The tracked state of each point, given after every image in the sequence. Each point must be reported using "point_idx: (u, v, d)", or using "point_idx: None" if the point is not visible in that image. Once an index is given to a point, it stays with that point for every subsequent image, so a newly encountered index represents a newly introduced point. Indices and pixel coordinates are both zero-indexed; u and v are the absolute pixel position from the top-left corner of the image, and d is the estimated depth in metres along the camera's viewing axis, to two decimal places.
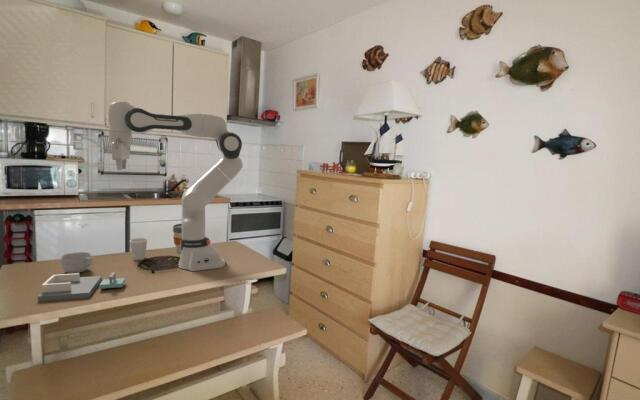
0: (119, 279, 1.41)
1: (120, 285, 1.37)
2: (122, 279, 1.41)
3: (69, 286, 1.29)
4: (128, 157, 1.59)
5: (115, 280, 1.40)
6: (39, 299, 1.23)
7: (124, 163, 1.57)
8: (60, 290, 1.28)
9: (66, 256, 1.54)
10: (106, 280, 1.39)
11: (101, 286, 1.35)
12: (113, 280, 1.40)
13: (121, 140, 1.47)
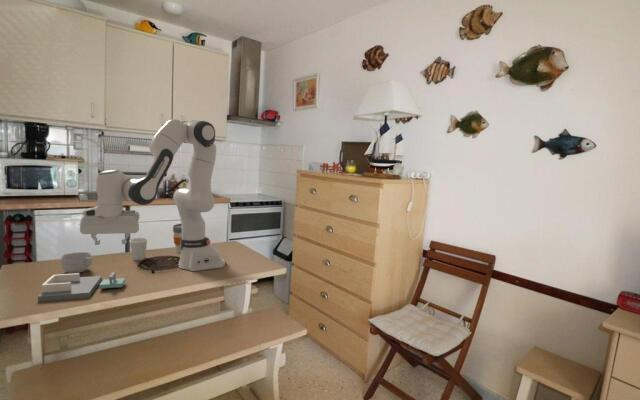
0: (119, 279, 1.41)
1: (120, 285, 1.37)
2: (122, 279, 1.41)
3: (69, 286, 1.29)
4: None
5: (115, 280, 1.40)
6: (39, 299, 1.23)
7: (96, 238, 1.35)
8: (60, 290, 1.28)
9: (66, 256, 1.54)
10: (106, 280, 1.39)
11: (101, 286, 1.35)
12: (113, 280, 1.40)
13: None
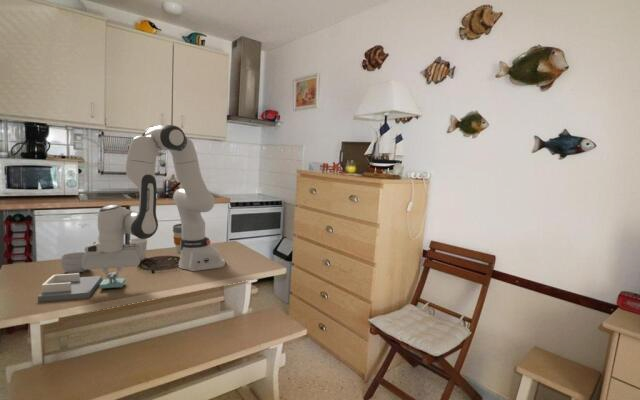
0: (119, 279, 1.41)
1: (120, 285, 1.37)
2: (122, 279, 1.41)
3: (69, 286, 1.29)
4: None
5: (115, 280, 1.40)
6: (39, 299, 1.23)
7: (107, 271, 1.38)
8: (60, 290, 1.28)
9: (66, 256, 1.54)
10: (106, 280, 1.39)
11: (101, 286, 1.35)
12: (113, 280, 1.40)
13: None
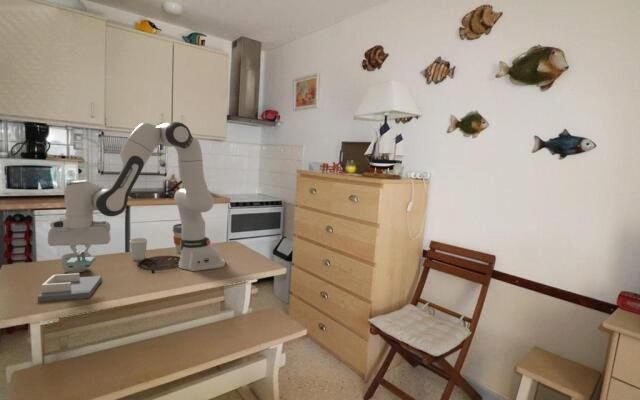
0: (88, 257, 1.36)
1: (88, 263, 1.32)
2: (91, 257, 1.36)
3: (69, 286, 1.29)
4: None
5: (84, 258, 1.35)
6: (39, 299, 1.23)
7: (75, 249, 1.33)
8: (60, 290, 1.28)
9: (66, 256, 1.54)
10: (74, 258, 1.34)
11: (68, 264, 1.30)
12: (82, 258, 1.35)
13: None
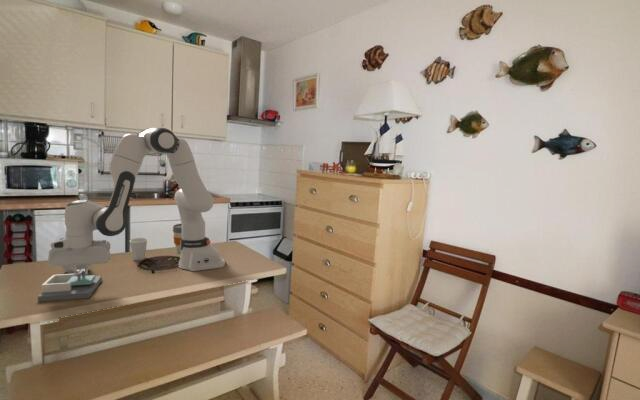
0: (89, 276, 1.37)
1: (89, 282, 1.33)
2: (92, 276, 1.37)
3: (69, 286, 1.29)
4: None
5: (84, 277, 1.36)
6: (39, 299, 1.23)
7: (76, 268, 1.34)
8: (60, 290, 1.28)
9: None
10: (75, 277, 1.35)
11: None
12: (82, 277, 1.36)
13: None
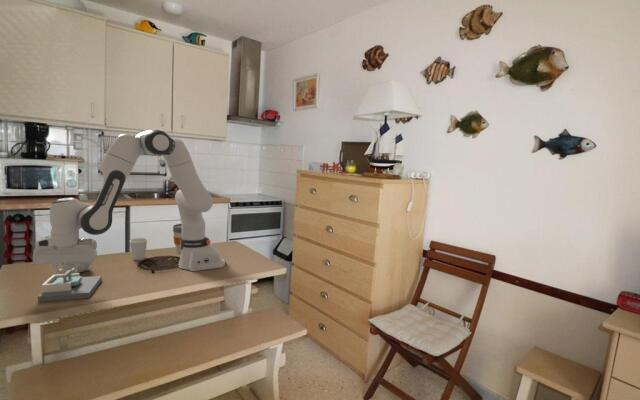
0: (75, 277, 1.35)
1: (75, 283, 1.32)
2: (78, 277, 1.36)
3: (69, 286, 1.29)
4: None
5: (70, 278, 1.34)
6: (39, 299, 1.23)
7: (58, 267, 1.32)
8: (60, 290, 1.28)
9: None
10: (61, 278, 1.34)
11: None
12: (68, 278, 1.34)
13: None
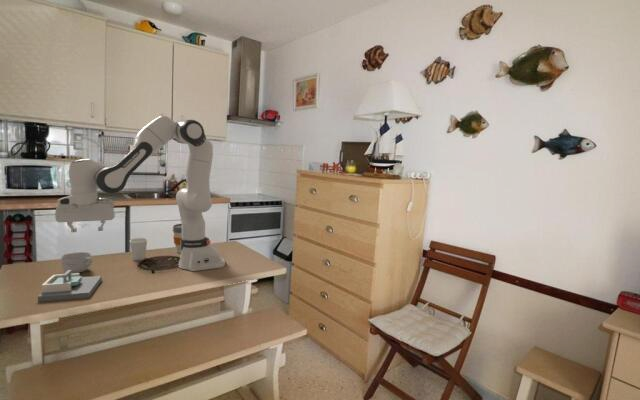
0: (75, 277, 1.35)
1: (75, 283, 1.32)
2: (78, 277, 1.36)
3: (69, 286, 1.29)
4: None
5: (70, 278, 1.34)
6: (39, 299, 1.23)
7: (72, 226, 1.38)
8: (60, 290, 1.28)
9: (66, 256, 1.54)
10: (61, 278, 1.34)
11: None
12: (68, 278, 1.34)
13: None
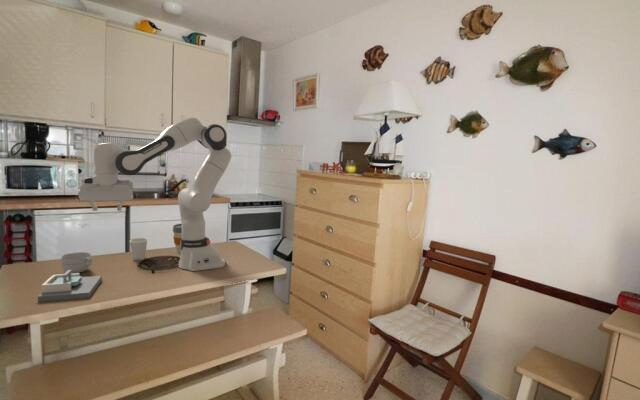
0: (75, 277, 1.35)
1: (75, 283, 1.32)
2: (78, 277, 1.36)
3: (69, 286, 1.29)
4: None
5: (70, 278, 1.34)
6: (39, 299, 1.23)
7: (93, 204, 1.48)
8: (60, 290, 1.28)
9: (66, 256, 1.54)
10: (61, 278, 1.34)
11: None
12: (68, 278, 1.34)
13: None
